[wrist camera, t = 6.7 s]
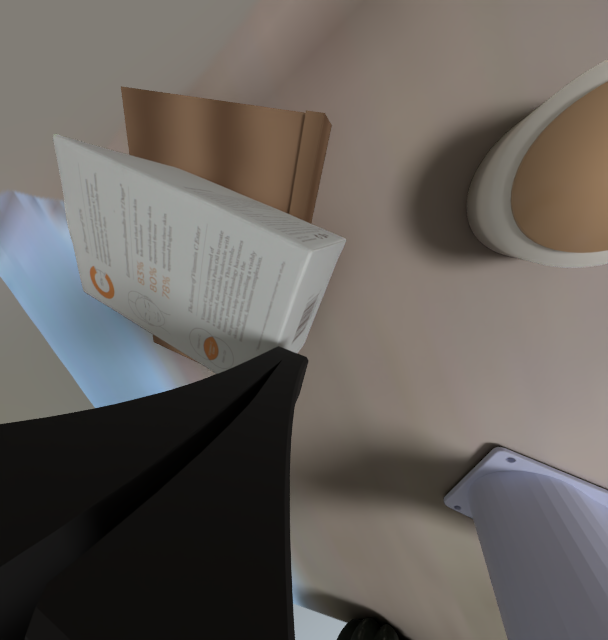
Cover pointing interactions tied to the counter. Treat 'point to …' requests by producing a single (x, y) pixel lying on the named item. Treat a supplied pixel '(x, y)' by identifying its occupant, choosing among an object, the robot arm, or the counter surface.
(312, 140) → the cutting board
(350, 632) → the squash
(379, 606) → the counter surface
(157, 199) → the small box
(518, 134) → the ramekin
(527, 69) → the counter surface
